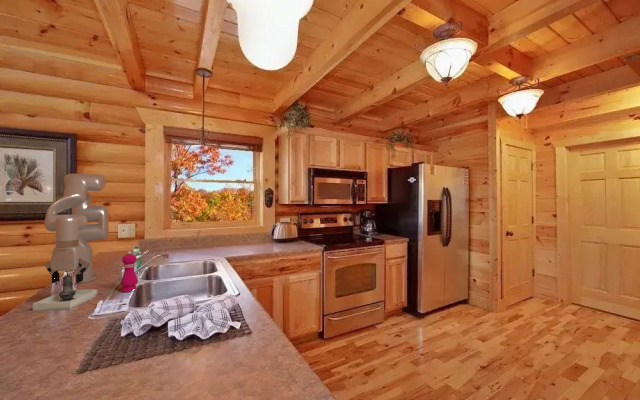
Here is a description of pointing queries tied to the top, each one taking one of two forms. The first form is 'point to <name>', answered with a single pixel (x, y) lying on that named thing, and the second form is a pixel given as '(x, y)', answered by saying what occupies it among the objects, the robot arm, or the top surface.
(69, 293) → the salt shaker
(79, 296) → the tray
